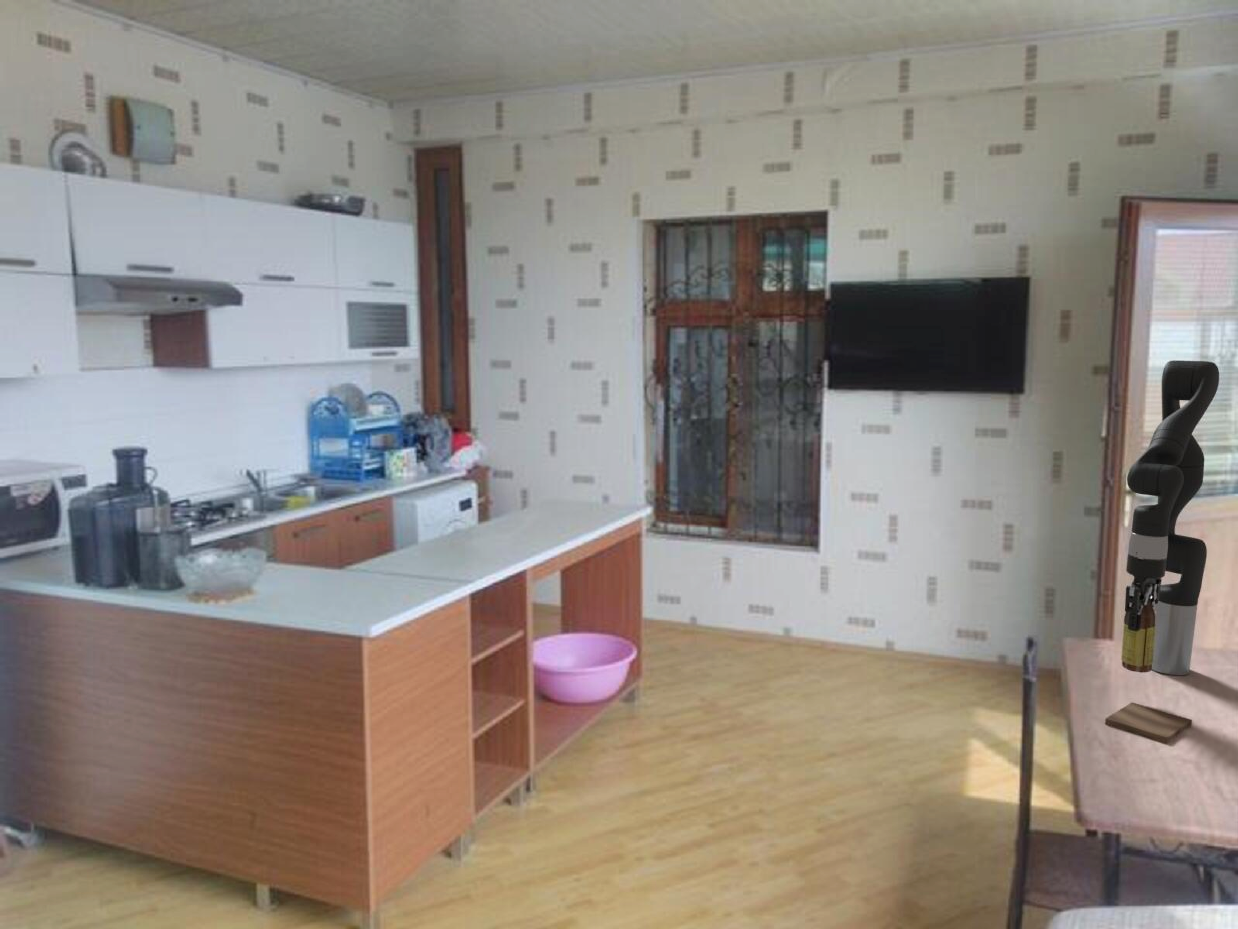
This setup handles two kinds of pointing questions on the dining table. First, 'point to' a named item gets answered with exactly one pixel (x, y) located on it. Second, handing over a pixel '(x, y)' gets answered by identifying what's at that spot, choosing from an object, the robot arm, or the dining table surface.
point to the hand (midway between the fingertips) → (1139, 627)
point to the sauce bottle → (1139, 641)
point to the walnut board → (1148, 722)
